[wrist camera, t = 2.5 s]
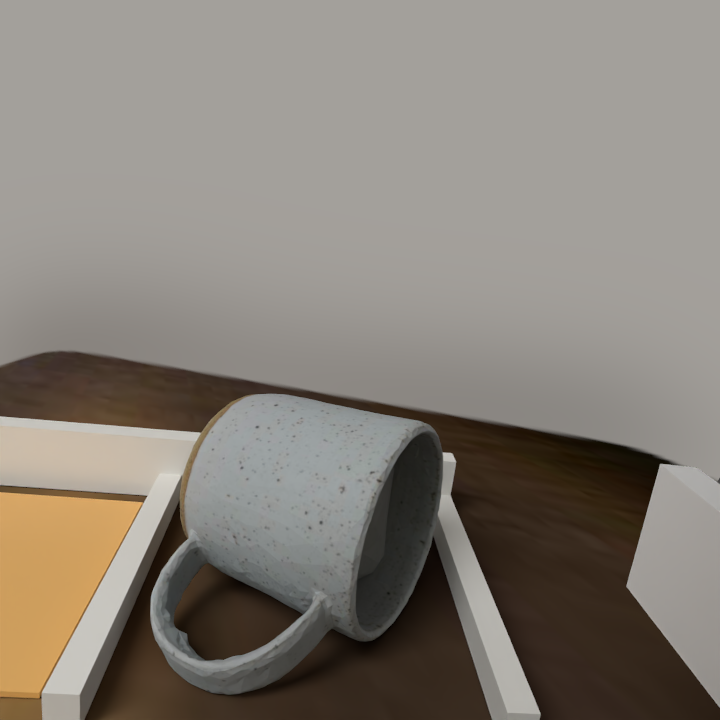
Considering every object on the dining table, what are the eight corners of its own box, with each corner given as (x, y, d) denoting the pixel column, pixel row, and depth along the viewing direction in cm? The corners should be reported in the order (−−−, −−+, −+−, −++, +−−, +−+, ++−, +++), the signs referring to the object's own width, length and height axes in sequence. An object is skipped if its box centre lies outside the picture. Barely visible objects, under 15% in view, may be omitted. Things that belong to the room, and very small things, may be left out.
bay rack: (441, 502, 32) (450, 449, 31) (532, 746, 18) (553, 663, 18) (-112, 462, 30) (-118, 403, 29) (-485, 708, 16) (-516, 610, 15)
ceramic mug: (273, 510, 30) (284, 356, 27) (432, 572, 26) (460, 403, 24) (87, 645, 21) (82, 430, 18) (296, 766, 17) (321, 523, 15)
